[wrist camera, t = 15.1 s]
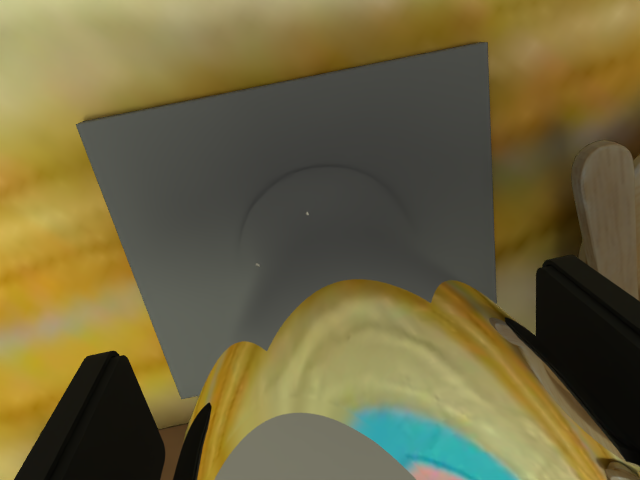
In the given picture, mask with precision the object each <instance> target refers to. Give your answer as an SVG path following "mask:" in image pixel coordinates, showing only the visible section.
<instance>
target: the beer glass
mask: <svg viewBox="0 0 640 480" xmlns="http://www.w3.org/2000/svg"><path fill="white" fill-rule="evenodd" d="M240 265H241V270H242V275H243V278H244V282H245V285H246V288H247V291H246V293H245V296H244V298H243V300H242V302H241V304H240V306H239V308H238V310H237V312H236V314H235V316H234V318H233V320H232V322H231V324H230V326H229V328H228V331H227V333H226V335H225V337H224V339H223V341H222V343H221V345H220V347H219V350H218V352H217V354H216V356H215V358H214V360H213V362H212V365H211V367H210V369H209V372H208V374H207V377H206V379H205V382H204V385H203V387H202V390H201V392H200V395H199V398H198V400H197V403H196V405H195V408H194V411H193V413H192V416H191V418H190V421H189V424H188V426H187V429H186V432H185V435H184V439H183V442H182V446H181V450H180V454H179V457H178V461H177V465H176V469H175V473H174V476H173V480H640V447H639V446H638V444H637V443H636V442H635V441H634V440H633V439H632V437H631V436H630V435H629V434H628V433H627V432H626V430H625V429H624V428H623V427H622V426H621V425H620V423H619V422H618V421H617V420H616V419H615V418H614V416H613V415H612V414H611V413H610V412H609V411H608V409H607V408H606V407H605V406H604V405H603V404H602V403H601V402H600V401H599V400H598V399H597V398H596V397H595V396H594V395H593V394H592V393H591V392H590V391H589V390H588V389H587V387H586V386H585V385H584V384H583V383H582V382H581V381H580V380H579V379H578V378H577V377H576V376H575V375H574V374H573V373H572V372H571V371H570V370H569V369H568V368H567V367H566V366H565V365H564V364H563V363H562V362H561V361H560V360H559V359H558V358H557V357H556V356H555V355H554V354H553V353H552V352H551V351H550V350H549V349H548V348H547V347H546V346H545V345H544V344H543V343H542V342H541V341H540V340H539V339H538V338H537V337H536V336H535V335H533V334H532V333H531V332H530V331H529V330H527V329H526V328H525V327H524V326H522V325H521V324H520V323H519V322H518V321H516V320H515V319H514V318H513V317H511V316H510V315H509V314H508V313H507V312H505V311H504V310H503V309H502V308H500V307H499V306H498V305H497V304H496V303H494V302H493V301H492V300H491V299H489V298H488V297H487V296H486V295H484V294H483V293H482V292H480V291H479V290H477V289H476V288H474V287H473V286H472V285H470V284H469V283H467V282H466V281H465V280H463V279H462V278H460V277H459V276H457V275H456V274H455V273H453V272H452V271H450V270H449V269H447V268H446V267H444V266H443V265H441V264H440V263H438V262H437V261H435V260H434V259H432V258H431V257H430V256H428V255H427V254H425V253H424V252H422V251H421V250H420V249H419V248H417V247H416V246H415V245H414V241H413V236H412V232H411V229H410V225H409V222H408V219H407V217H406V214H405V212H404V210H403V208H402V207H401V205H400V203H399V202H398V200H397V199H396V198H395V196H394V195H393V194H392V193H391V192H390V191H389V190H388V189H387V188H386V187H385V186H384V185H383V184H381V183H380V182H379V181H377V180H376V179H374V178H372V177H370V176H369V175H366V174H364V173H362V172H359V171H356V170H353V169H349V168H344V167H337V166H320V167H312V168H307V169H304V170H300V171H297V172H295V173H292V174H290V175H288V176H286V177H284V178H282V179H280V180H279V181H277V182H276V183H274V184H273V185H272V186H271V187H269V188H268V189H267V190H266V191H265V192H264V193H263V194H262V195H261V196H260V197H259V198H258V199H257V201H256V202H255V203H254V205H253V206H252V208H251V209H250V211H249V213H248V215H247V217H246V219H245V221H244V224H243V228H242V232H241V237H240Z"/></svg>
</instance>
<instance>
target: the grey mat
mask: <svg viewBox="0 0 640 480" xmlns="http://www.w3.org/2000/svg"><path fill="white" fill-rule="evenodd" d="M76 126H77V129H78V132H79V134H80V137H81V139H82V142H83V145H84V147H85V150H86V152H87V155H88V158H89V160H90V163H91V165H92V168H93V171H94V173H95V176H96V178H97V181H98V184H99V186H100V189H101V191H102V194H103V197H104V199H105V202H106V204H107V207H108V210H109V212H110V215H111V217H112V220H113V223H114V225H115V228H116V230H117V233H118V236H119V238H120V241H121V243H122V246H123V249H124V251H125V254H126V256H127V259H128V262H129V264H130V267H131V269H132V272H133V275H134V277H135V280H136V282H137V285H138V288H139V290H140V293H141V295H142V298H143V301H144V303H145V306H146V308H147V311H148V314H149V316H150V319H151V321H152V324H153V327H154V329H155V332H156V334H157V337H158V340H159V342H160V345H161V347H162V350H163V353H164V355H165V358H166V360H167V363H168V366H169V368H170V371H171V374H172V376H173V379H174V381H175V384H176V387H177V389H178V392H179V394H180V397H181V399H185V398H190V397H195V396H199V395H200V392H201V390H202V387H203V385H204V382H205V379H206V377H207V374H208V372H209V369H210V367H211V365H212V362H213V360H214V358H215V356H216V354H217V352H218V350H219V347H220V345H221V343H222V341H223V339H224V337H225V335H226V333H227V331H228V328H229V326H230V324H231V322H232V320H233V318H234V316H235V314H236V312H237V310H238V308H239V306H240V304H241V302H242V300H243V298H244V296H245V293H246V291H247V288H246V285H245V282H244V278H243V275H242V270H241V265H240V237H241V232H242V228H243V224H244V221H245V219H246V217H247V215H248V213H249V211H250V209H251V208H252V206H253V205H254V203H255V202H256V201H257V199H258V198H259V197H260V196H261V195H262V194H263V193H264V192H265V191H266V190H267V189H268V188H269V187H271V186H272V185H273V184H274V183H276V182H277V181H279V180H280V179H282V178H284V177H286V176H288V175H290V174H292V173H295V172H297V171H300V170H304V169H307V168H312V167H320V166H337V167H344V168H349V169H353V170H356V171H359V172H362V173H364V174H366V175H369V176H370V177H372V178H374V179H376V180H377V181H379V182H380V183H381V184H383V185H384V186H385V187H386V188H387V189H388V190H389V191H390V192H391V193H392V194H393V195H394V196H395V198H396V199H397V200H398V202H399V203H400V205H401V207H402V208H403V210H404V212H405V214H406V217H407V219H408V222H409V225H410V229H411V232H412V236H413V241H414V245H415V246H416V247H417V248H419V249H420V250H421V251H422V252H424V253H425V254H427V255H428V256H430V257H431V258H432V259H434V260H435V261H437V262H438V263H440V264H441V265H443V266H444V267H446V268H447V269H449V270H450V271H452V272H453V273H455V274H456V275H457V276H459V277H460V278H462V279H463V280H465V281H466V282H467V283H469V284H470V285H472V286H473V287H474V288H476V289H477V290H479V291H480V292H482V293H483V294H484V295H486V296H487V297H488V298H489V299H491V300H492V301H493V302H494V303H496V304H497V298H496V269H495V241H494V212H493V184H492V155H491V126H490V98H489V69H488V42H479V43H474V44H469V45H464V46H459V47H454V48H449V49H444V50H439V51H434V52H429V53H424V54H419V55H414V56H409V57H404V58H399V59H394V60H389V61H384V62H379V63H374V64H369V65H364V66H359V67H354V68H349V69H344V70H339V71H334V72H329V73H324V74H319V75H314V76H309V77H304V78H299V79H294V80H289V81H284V82H279V83H274V84H269V85H264V86H259V87H254V88H249V89H244V90H239V91H234V92H229V93H224V94H219V95H214V96H209V97H204V98H199V99H194V100H189V101H184V102H179V103H174V104H169V105H164V106H159V107H153V108H148V109H143V110H138V111H133V112H128V113H123V114H118V115H113V116H108V117H103V118H98V119H93V120H88V121H83V122H81V123H78V124H76Z"/></svg>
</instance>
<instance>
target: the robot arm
mask: <svg viewBox="0 0 640 480" xmlns="http://www.w3.org/2000/svg"><path fill="white" fill-rule="evenodd" d="M536 337H537V338H538V339H539V340H540V341H541V342H542V343H543V344H544V345H545V346H546V347H547V348H548V349H549V350H550V351H551V352H552V353H553V354H554V355H555V356H556V357H557V358H558V359H559V360H560V361H561V362H562V363H563V364H564V365H565V366H566V367H567V368H568V369H569V370H570V371H571V372H572V373H573V374H574V375H575V376H576V377H577V378H578V379H579V380H580V381H581V382H582V383H583V384H584V385H585V386H586V387H587V389H588V390H589V391H590V392H591V393H592V394H593V395H594V396H595V397H596V398H597V399H598V400H599V401H600V402H601V403H602V404H603V405H604V406H605V407H606V408H607V409H608V411H609V412H610V413H611V414H612V415H613V416H614V418H615V419H616V420H617V421H618V422H619V423H620V425H621V426H622V427H623V428H624V429H625V430H626V432H627V433H628V434H629V435H630V436H631V437H632V439H633V440H634V441H635V442H636V443H637V444H638V446H639V447H640V301H639V300H637V299H636V298H634V297H633V296H632V295H630V294H629V293H627V292H626V291H624V290H623V289H622V288H620V287H619V286H617V285H616V284H614V283H613V282H612V281H610V280H609V279H607V278H606V277H604V276H603V275H602V274H600V273H599V272H597V271H596V270H594V269H593V268H592V267H590V266H589V265H587V264H586V263H584V262H583V261H582V260H580V259H579V258H577V257H576V256H574V255H568V256H563V257H558V258H553V259H549V260H546V261H545V262H544V263H543V267H542V268H539V269H538V270H537V273H536ZM164 462H165V446H164V443H163V440H162V438H161V435H160V433H159V431H158V428H157V426H156V424H155V421H154V419H153V417H152V414H151V412H150V409H149V407H148V405H147V402H146V400H145V398H144V395H143V393H142V391H141V388H140V386H139V384H138V381H137V379H136V376H135V374H134V372H133V369H132V367H131V365H130V362H129V360H128V358H127V357H126V356H124V355H122V356H119V354H118V353H117V352H116V351H109V352H105V353H100V354H95V355H90V356H87V357H86V358H85V359H84V361H83V362H82V364H81V366H80V367H79V369H78V371H77V373H76V374H75V376H74V378H73V379H72V381H71V383H70V385H69V386H68V388H67V390H66V391H65V393H64V395H63V397H62V398H61V400H60V402H59V403H58V405H57V407H56V409H55V410H54V412H53V414H52V415H51V417H50V419H49V420H48V422H47V424H46V426H45V427H44V429H43V431H42V432H41V434H40V436H39V438H38V439H37V441H36V443H35V444H34V446H33V448H32V450H31V451H30V453H29V455H28V456H27V458H26V460H25V462H24V463H23V465H22V467H21V468H20V470H19V472H18V474H17V475H16V477H15V479H14V480H160V478H161V474H162V470H163V466H164Z"/></svg>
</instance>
